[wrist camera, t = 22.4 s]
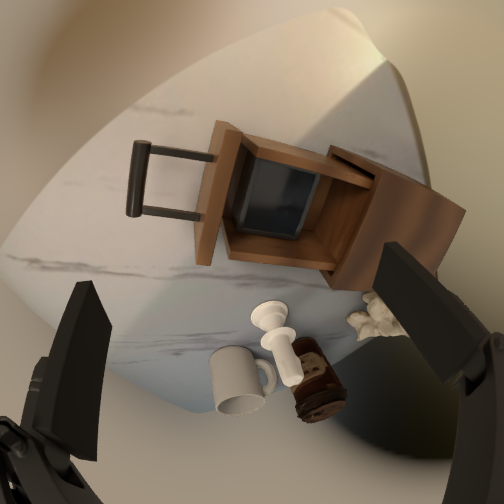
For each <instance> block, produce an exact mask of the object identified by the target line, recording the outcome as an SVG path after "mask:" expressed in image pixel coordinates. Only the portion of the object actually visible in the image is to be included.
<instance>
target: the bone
mask: <svg viewBox="0 0 504 504" xmlns="http://www.w3.org/2000/svg"><path fill="white" fill-rule="evenodd" d="M362 299H363V300H364V301H365V302H366V303H368V305H367V311H368V313H369V314H368V313H366V312H364V311H357V312H354V313H352V314H351V315H350V316H348V317H347V318H346V319H347V322H348V323H349V324H350V325H351V326H353V327H355V330H356V331H357V335H358V340H357V341H359V340H363V339H365V338H367V337H370V336H375V337H376V336H379V335H382V336H385V337H388V336H390V335H391V336H398V335H406V336H408V337H409V335H408V334H407V333H406V331H405V330H404V329H403V327H402V326H401V325H400V323H399V322H398V321H397V319H396V318H395V317H394V315H393V314H392V313H391V311H390V310H389V309H388V307H387V306H386V305H385V304H384V302H383V301H382V300H381V298H380V297H379V296H378V295H377V293H376V292H368V293H365V294H363V295H362Z"/></svg>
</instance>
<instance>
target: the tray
mask: <svg viewBox="0 0 504 504" xmlns="http://www.w3.org/2000/svg"><path fill="white" fill-rule="evenodd" d="M320 177H321V174H319V173H316V172H312V171H309V170H305V169H301V168H298V167H294V166H290V165H286V164H282V163H278V162H274V161H270V160H266V159H261V158H257V157H256V156H255V155H254V154H253V153H252V152H250V151H249V150H248V151H247V155H246V158H245V162H244V166H243V169H242V173H241V177H240V181H239V185H238V188H237V192H236V196H235V200H234V204H233V208H232V212H231V218H232V221H233V224H234V227H235V230H236V232H240V233H247V234H254V235H261V236H267V237H274V238H281V239H288V240H294V241H298V238H299V235H300V233H301V230H302V227H303V225H304V222H305V219H306V217H307V214H308V211H309V208H310V205H311V203H312V200H313V197H314V194H315V191H316V189H317V186H318V183H319V180H320Z"/></svg>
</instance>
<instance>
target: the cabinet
mask: <svg viewBox="0 0 504 504" xmlns="http://www.w3.org/2000/svg"><path fill="white" fill-rule="evenodd" d="M327 157H330V158H333V159H336V160H339V161H341V162H343V163H345V164H347V165H349V166H351V167H353V168H355V169H356V170H358V171H360V172H362V173H363V174H365V175H367V176H369V177H371V178H372V179H374V181H373V184H372V186H371V189H370V191H369V194H368V196H367V199H366V201H365V204H364V206H363V209H362V211H361V213H360V216H359V218H358V221H357V223H356V225H355V228H354V230H353V232H352V235H351V237H350V239H349V241H348V244H347V246H346V248H345V250H344V252H343V254H342V257H341V259H340V261H339V263H338V265H337V267H336V269H335V271H329V270H319V271H320V272H321V274H322V275H323V277H324V278H325V280H326V281H327V283H328V285H329V286H330V288H331V289H334V290H351V291H369V292H375V291H374V290H373V288H372V286H373V282H374V279H375V276H376V272H377V269H378V265H379V261H380V258H381V254H382V250H383V246H384V243H385V242H392V241H397V242H398V243H399V244H400V245H401V246H402V247H403V248H404V249H405V250H407V251H408V252H409V253H410V254H411V255H412V256H413V257H414V258H415V259H416V260H417V261H418V262H419V263H421V264H422V265H423V266H424V267H425V268H426V269H427V270H428V271H429V272H430V273H431V274H432V275H433V276H434V274H435V272H436V271H437V269H438V267H439V265H440V263H441V262H442V260H443V258H444V256H445V254H446V252H447V250H448V248H449V246H450V244H451V242H452V240H453V238H454V236H455V234H456V232H457V230H458V228H459V226H460V224H461V221H462V219H463V217H464V215H465V212H466V210H465V209H463V208H462V207H460V206H459V205H457V204H455V203H454V202H452V201H450V200H449V199H447V198H446V197H444V196H442V195H441V194H439V193H437V192H435V191H434V190H432V189H431V188H429V187H427V186H425V185H423V184H422V183H420V182H418V181H416V180H414V179H412V178H410V177H408V176H406V175H404V174H402V173H399V172H397V171H395V170H393V169H391V168H388V167H386V166H384V165H381V164H379V163H377V162H374V161H372V160H370V159H367V158H365V157H362V156H360V155H357V154H355V153H352V152H349V151H347V150H344V149H341V148H339V147H336V146H333V145H330V148H329V151H328V154H327Z"/></svg>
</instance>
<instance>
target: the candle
mask: <svg viewBox="0 0 504 504" xmlns="http://www.w3.org/2000/svg"><path fill="white" fill-rule="evenodd" d="M287 314H288V308H287V306H286V305H285V304H284V303H282V302H280V301H268V302H265V303H262V304H260V305H259V306H257V307H256V308H255V309H254V311H253V312H252V315H251V321H252V323H253V324H254V325H255V326H257V327H259V328H260V329H262V330H264V331H267V333H266V334H265V335H264V336H263V337H262V339H261V346H262V347H263V348H264V349H266V350H270V351H272V353H273V356H274V359H275V362H276V365H277V368H278V371H279V374H280V376H281V379H282V382H283V384H284V385H286V386H288V387H291V386H293V385H297V384H299V383H300V382H301V381H302V380H303V378H304V373H303V370H302V367H301V361H300V359H299V358H298V357H297V356H296V355H295V353H294V350H293V348H292V345H291V343H292V342H293V341H294V340H295V337H296V332H295V331H294V330H293V329H292V328H289V327H283V324H284V323H285V320H286V317H287Z"/></svg>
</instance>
